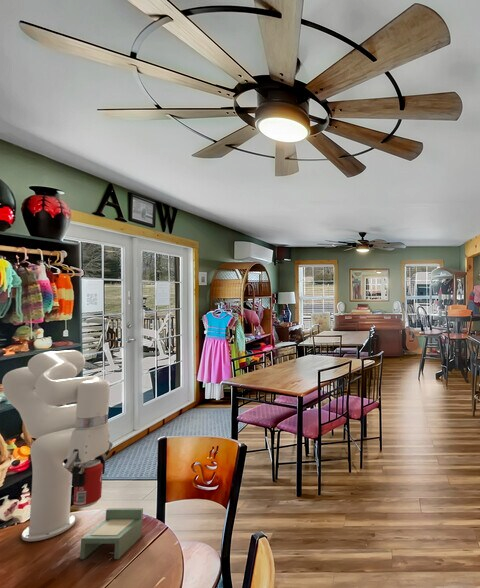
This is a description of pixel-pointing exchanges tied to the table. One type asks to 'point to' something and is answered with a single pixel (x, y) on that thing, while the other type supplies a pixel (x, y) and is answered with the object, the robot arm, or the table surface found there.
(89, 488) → the beverage can
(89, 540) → the green stand
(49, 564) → the table surface
